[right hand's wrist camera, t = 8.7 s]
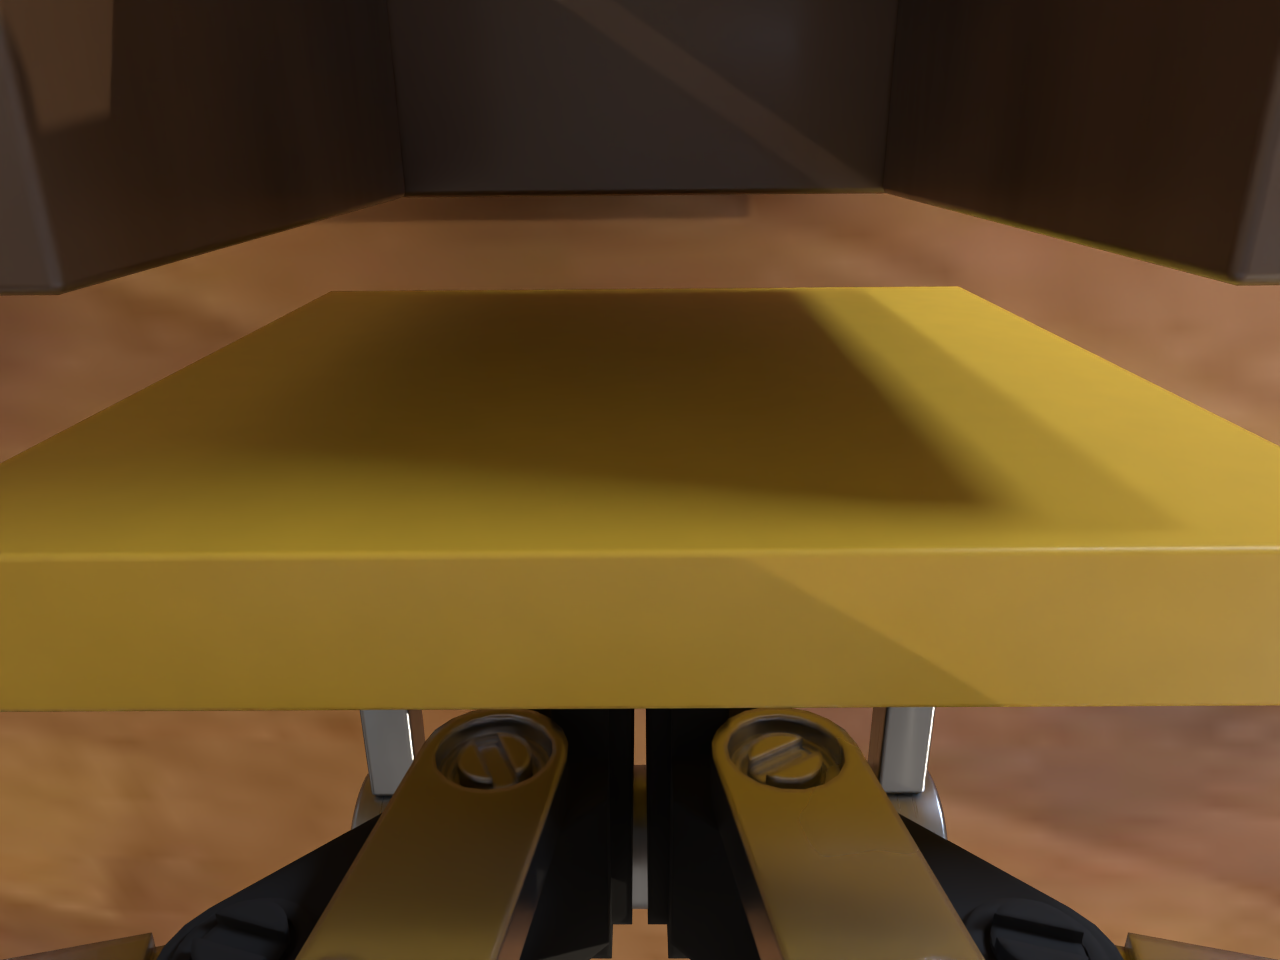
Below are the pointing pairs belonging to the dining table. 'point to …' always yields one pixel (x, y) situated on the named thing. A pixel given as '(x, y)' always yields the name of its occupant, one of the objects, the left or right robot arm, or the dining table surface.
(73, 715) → the dining table surface
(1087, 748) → the dining table surface
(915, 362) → the drawer
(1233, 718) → the dining table surface
